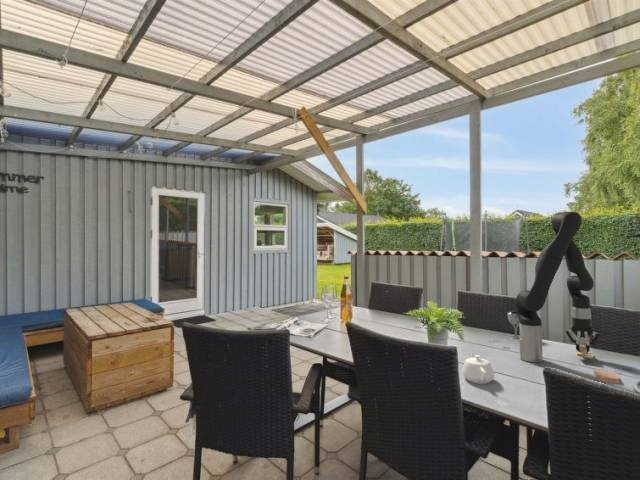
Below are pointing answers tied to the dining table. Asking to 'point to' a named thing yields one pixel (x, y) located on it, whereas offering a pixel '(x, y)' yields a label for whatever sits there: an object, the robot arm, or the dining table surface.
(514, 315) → the wine glass
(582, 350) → the turner
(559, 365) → the dining table surface
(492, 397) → the dining table surface
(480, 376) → the teapot
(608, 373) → the tile
